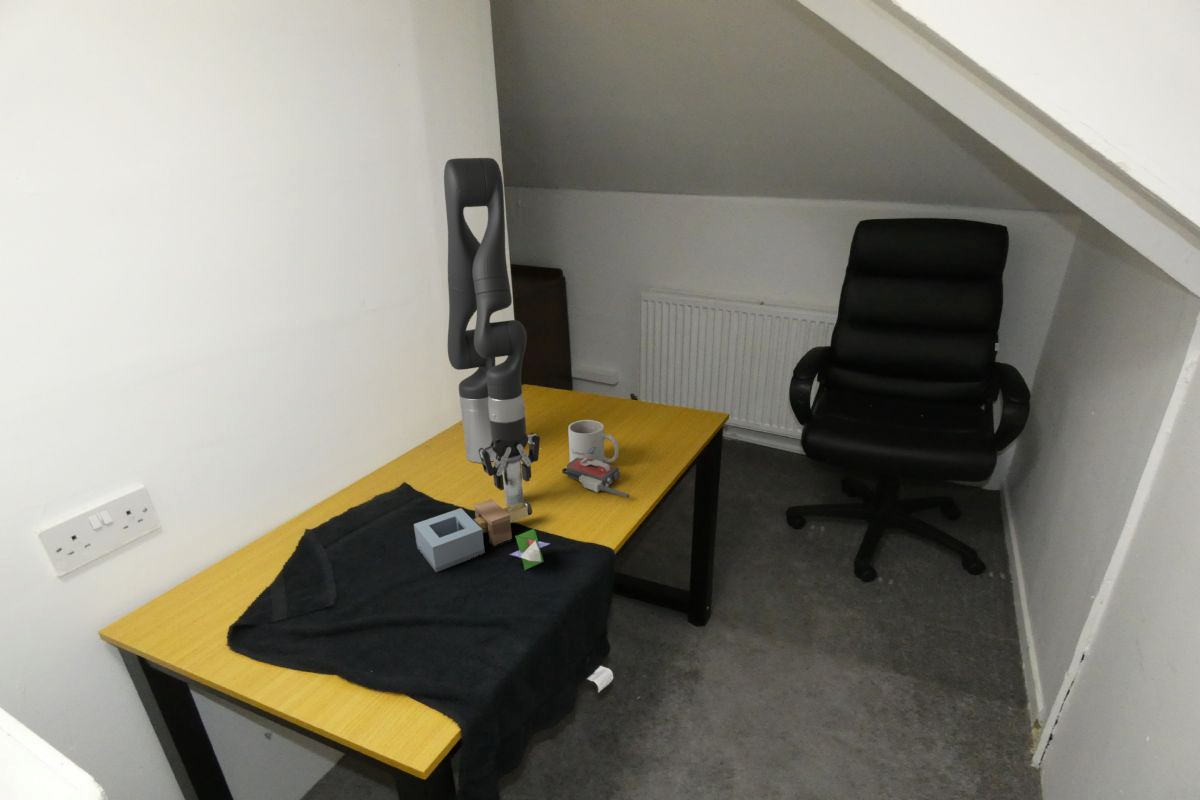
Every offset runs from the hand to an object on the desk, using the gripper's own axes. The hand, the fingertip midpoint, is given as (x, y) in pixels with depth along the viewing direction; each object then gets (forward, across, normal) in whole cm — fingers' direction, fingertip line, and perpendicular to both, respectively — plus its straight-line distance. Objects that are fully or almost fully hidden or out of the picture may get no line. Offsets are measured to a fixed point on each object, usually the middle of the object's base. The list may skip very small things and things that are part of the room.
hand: (513, 484), depth 145 cm
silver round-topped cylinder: (+5, 0, 0) cm, 5 cm away
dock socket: (+5, +19, +9) cm, 22 cm away
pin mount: (+5, +10, +9) cm, 14 cm away
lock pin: (+3, +7, +9) cm, 12 cm away
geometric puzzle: (+5, +8, +22) cm, 24 cm away
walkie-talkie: (+5, -20, +5) cm, 21 cm away
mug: (+5, -24, -4) cm, 25 cm away
